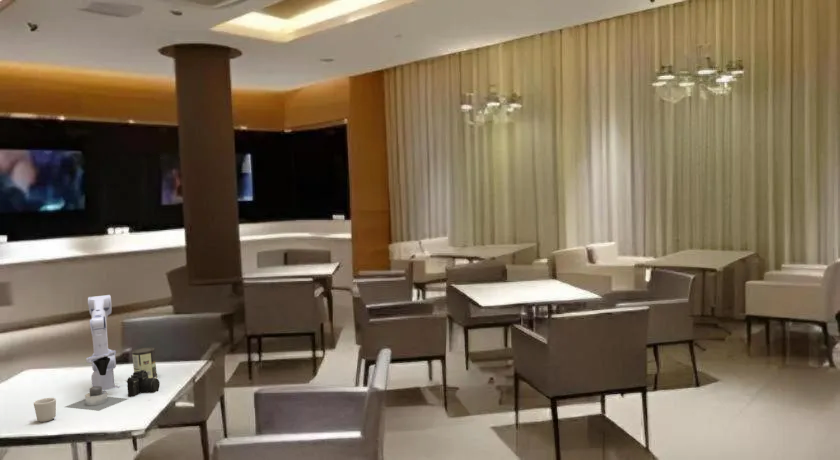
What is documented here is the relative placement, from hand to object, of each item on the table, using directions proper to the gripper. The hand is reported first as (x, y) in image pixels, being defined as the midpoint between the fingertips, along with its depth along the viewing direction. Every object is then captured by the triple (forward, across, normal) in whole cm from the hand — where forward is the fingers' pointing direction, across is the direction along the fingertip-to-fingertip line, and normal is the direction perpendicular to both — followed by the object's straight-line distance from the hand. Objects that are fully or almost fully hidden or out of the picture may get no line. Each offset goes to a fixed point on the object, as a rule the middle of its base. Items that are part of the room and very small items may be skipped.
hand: (103, 374), depth 313 cm
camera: (+11, +9, -14) cm, 20 cm away
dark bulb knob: (+9, -8, -4) cm, 13 cm away
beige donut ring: (+10, -8, -4) cm, 14 cm away
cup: (+11, -27, +2) cm, 30 cm away
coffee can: (+10, +30, +6) cm, 32 cm away
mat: (+11, -8, -4) cm, 14 cm away
